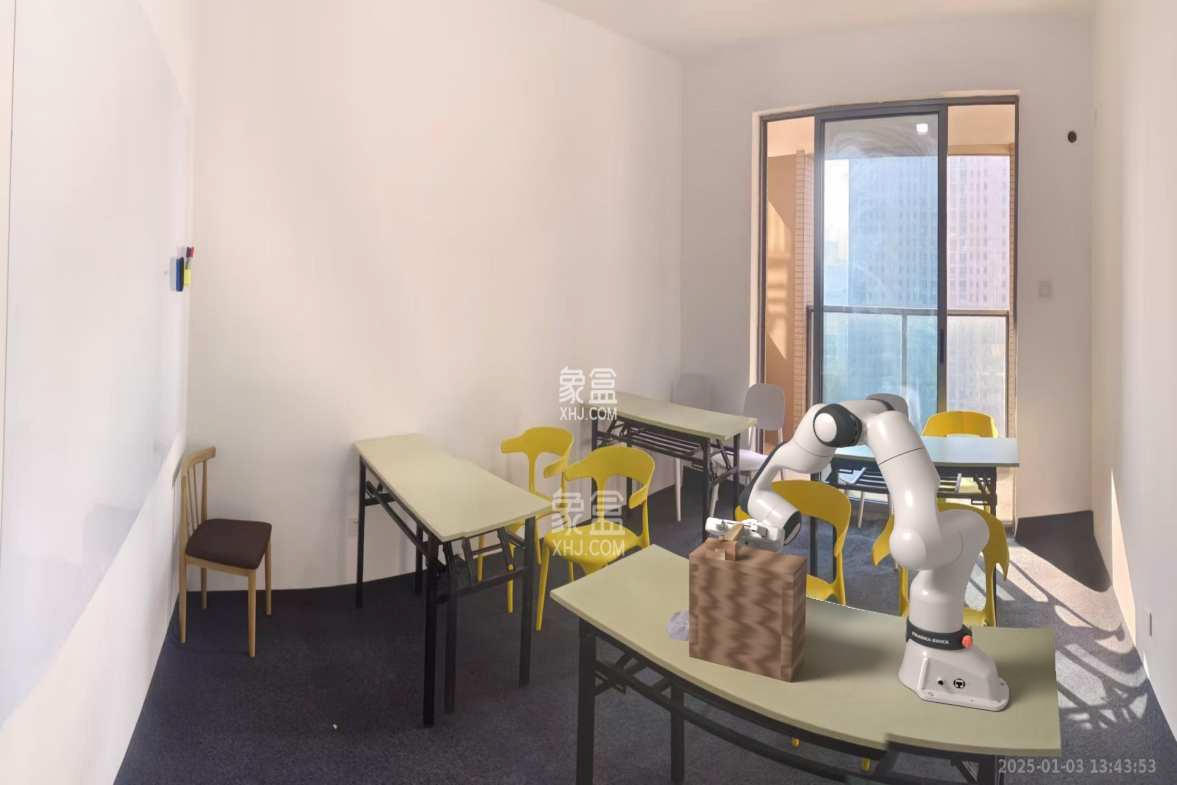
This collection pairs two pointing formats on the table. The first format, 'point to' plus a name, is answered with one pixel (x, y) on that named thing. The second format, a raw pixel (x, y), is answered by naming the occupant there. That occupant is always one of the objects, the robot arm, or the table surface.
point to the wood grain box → (749, 611)
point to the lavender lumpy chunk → (679, 626)
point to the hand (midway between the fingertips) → (736, 524)
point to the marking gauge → (725, 544)
